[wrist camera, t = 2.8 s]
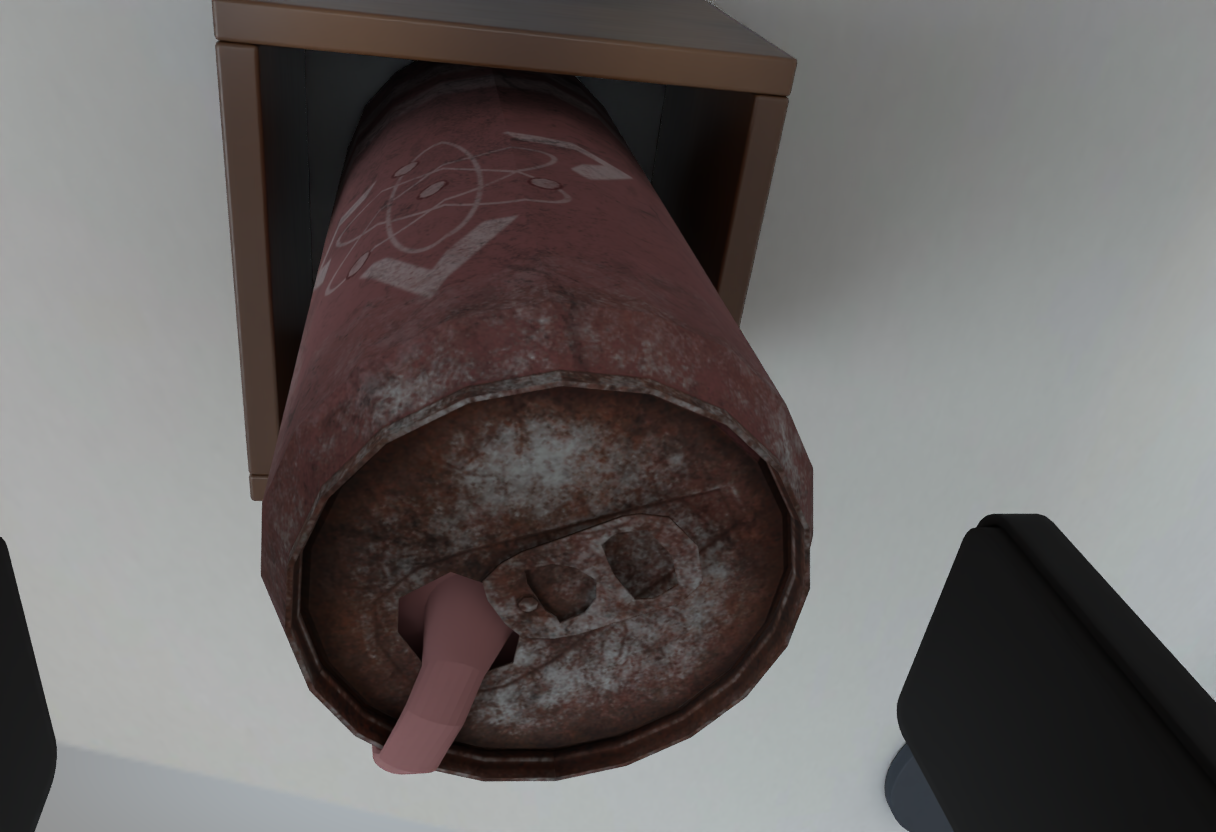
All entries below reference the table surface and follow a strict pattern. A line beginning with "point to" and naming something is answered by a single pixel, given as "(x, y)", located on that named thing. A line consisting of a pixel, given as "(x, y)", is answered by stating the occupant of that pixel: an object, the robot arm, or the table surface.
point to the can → (525, 449)
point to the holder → (498, 38)
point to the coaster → (913, 796)
